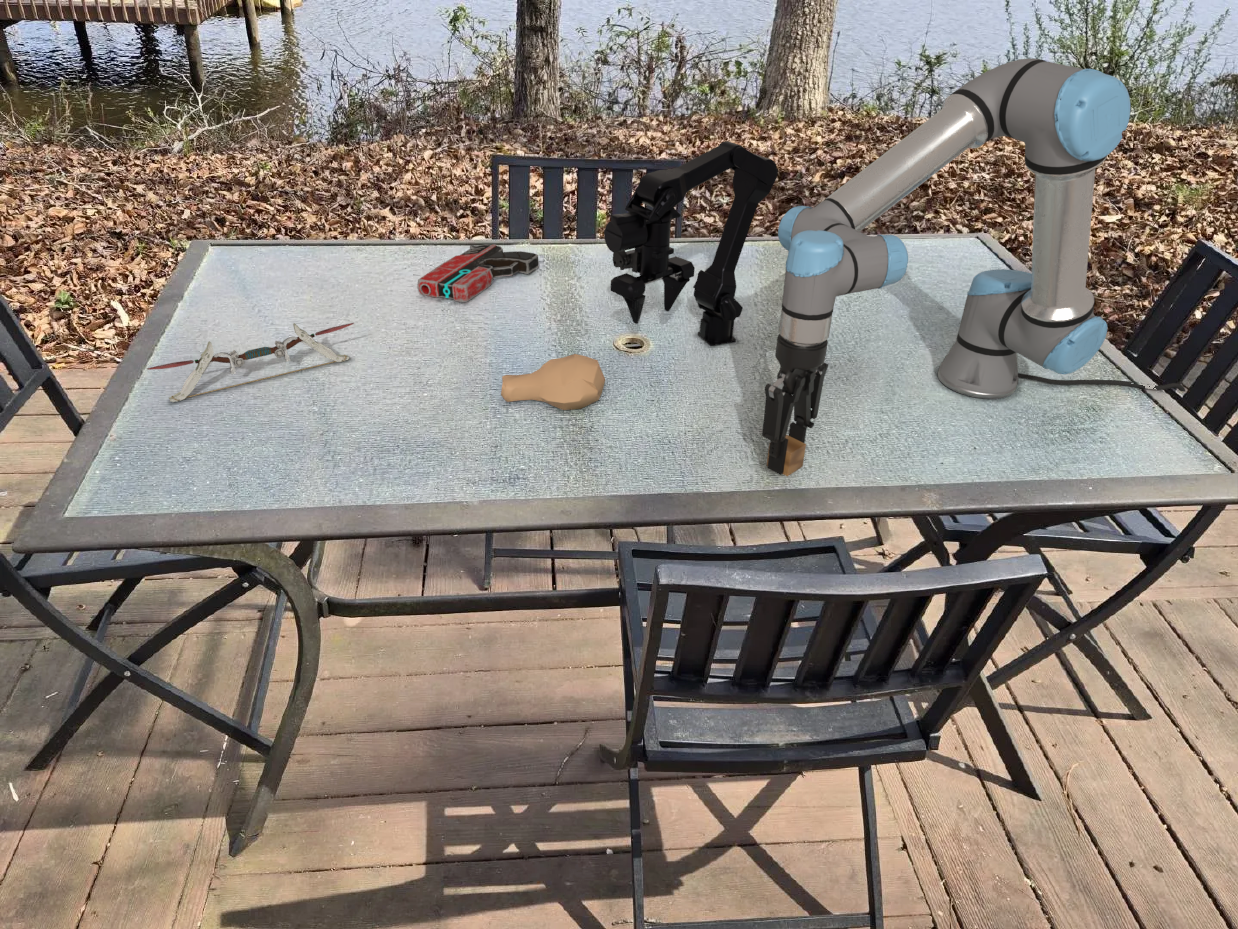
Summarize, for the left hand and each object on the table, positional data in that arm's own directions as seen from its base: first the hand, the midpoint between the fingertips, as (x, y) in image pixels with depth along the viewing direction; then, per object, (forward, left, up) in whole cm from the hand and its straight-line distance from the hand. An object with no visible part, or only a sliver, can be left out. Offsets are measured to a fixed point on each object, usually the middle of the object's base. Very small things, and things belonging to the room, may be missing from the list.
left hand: (651, 316), depth 179 cm
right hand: (-2, +49, -6) cm, 50 cm away
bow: (+75, -18, -10) cm, 78 cm away
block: (-2, +49, -6) cm, 50 cm away
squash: (+25, +10, -10) cm, 28 cm away
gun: (+22, -53, -10) cm, 58 cm away
